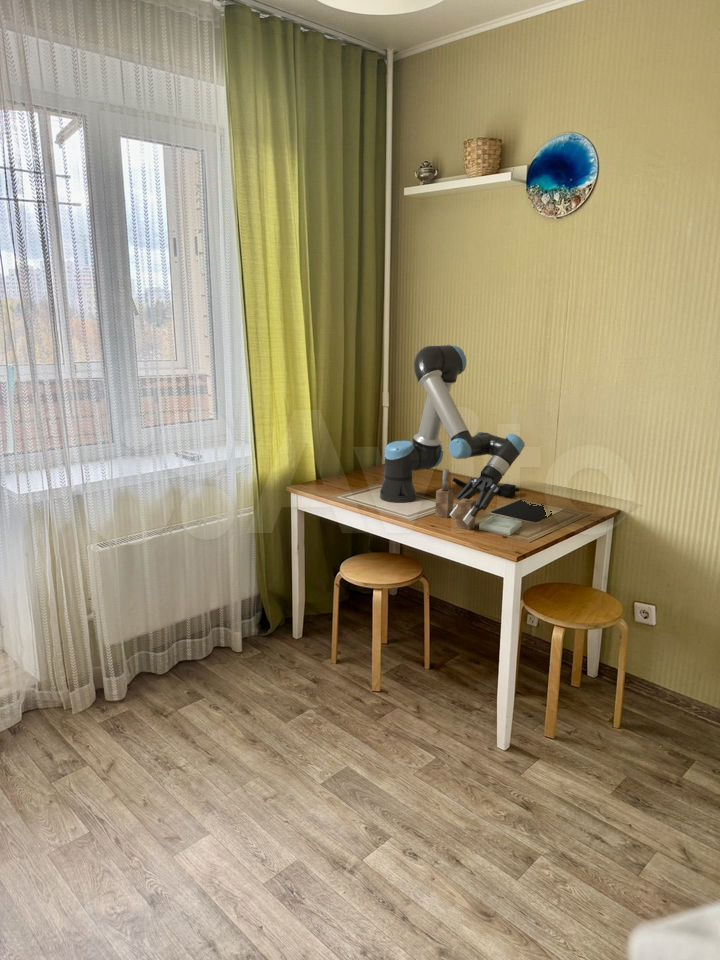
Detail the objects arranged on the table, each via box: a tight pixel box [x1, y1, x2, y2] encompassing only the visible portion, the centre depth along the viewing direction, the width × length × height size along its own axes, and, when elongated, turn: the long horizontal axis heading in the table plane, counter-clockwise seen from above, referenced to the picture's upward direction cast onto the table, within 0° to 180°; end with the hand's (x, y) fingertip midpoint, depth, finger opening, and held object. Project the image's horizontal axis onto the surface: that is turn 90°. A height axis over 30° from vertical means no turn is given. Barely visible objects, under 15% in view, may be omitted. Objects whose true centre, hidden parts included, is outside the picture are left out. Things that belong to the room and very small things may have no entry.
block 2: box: [455, 498, 477, 531], centre depth 252 cm, size 5×5×10 cm
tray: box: [478, 515, 522, 536], centre depth 252 cm, size 12×12×2 cm
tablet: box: [490, 499, 553, 524], centre depth 275 cm, size 27×1×20 cm
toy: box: [452, 477, 520, 499], centre depth 304 cm, size 10×5×30 cm
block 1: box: [434, 468, 455, 519], centre depth 265 cm, size 5×5×18 cm
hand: (458, 519), depth 251 cm, fingers closed on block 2, 7 cm apart
